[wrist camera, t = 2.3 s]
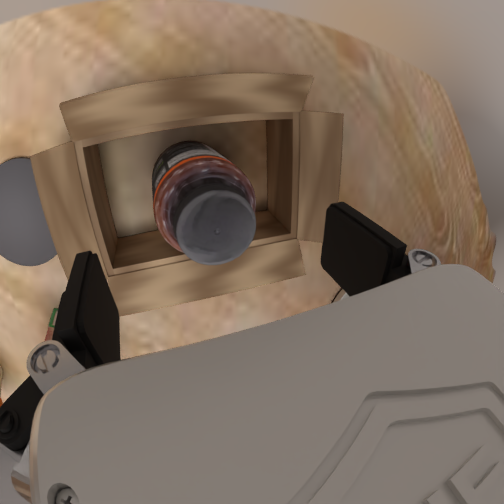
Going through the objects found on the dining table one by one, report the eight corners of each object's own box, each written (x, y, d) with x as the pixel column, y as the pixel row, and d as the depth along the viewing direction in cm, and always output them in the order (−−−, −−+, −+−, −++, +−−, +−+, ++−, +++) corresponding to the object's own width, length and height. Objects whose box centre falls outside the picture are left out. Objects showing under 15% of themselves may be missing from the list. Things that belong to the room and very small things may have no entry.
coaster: (56, 142, 17) (54, 144, 17) (84, 251, 23) (83, 254, 22) (-29, 176, 15) (-32, 178, 14) (3, 271, 20) (1, 274, 20)
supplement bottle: (220, 206, 25) (267, 278, 16) (152, 209, 23) (158, 289, 14) (225, 139, 22) (283, 172, 13) (152, 139, 20) (152, 173, 11)
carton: (299, 80, 21) (345, 79, 16) (296, 234, 29) (331, 269, 24) (56, 110, 16) (22, 116, 11) (95, 274, 24) (87, 324, 19)
